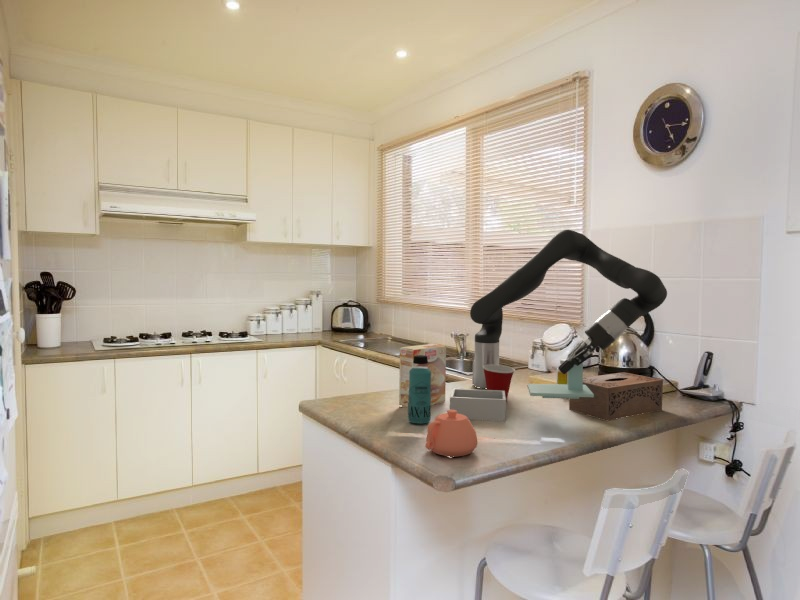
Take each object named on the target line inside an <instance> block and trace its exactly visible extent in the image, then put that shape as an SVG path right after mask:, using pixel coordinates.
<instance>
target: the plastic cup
mask: <svg viewBox="0 0 800 600" xmlns="http://www.w3.org/2000/svg"><path fill="white" fill-rule="evenodd" d="M483 369H484V373H485V380H486V387H487V389H486V390H499V391H505V397H506V402H507V401H508V398H509V397H508V396H509V391H510V387H511V382H512V379H513V375H514V374H515V372H516V369H515V368H513V367H511V366H507V365H502V364H499V365H493V364H490V365H483Z"/></svg>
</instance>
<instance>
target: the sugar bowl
mask: <svg viewBox="0 0 800 600" xmlns="http://www.w3.org/2000/svg"><path fill="white" fill-rule="evenodd" d="M426 432H427V434H426V439H425V440H426V441H425V448H426V449H427V450H430V451H432V452H433V453H434V454H437V455H440V456H444V457H447V456H450V457H453V456H455V457H462V456H467V455H469V454H471V453H472V452H473V451H475V449H476V448H477V446H478V436H477V432H476V429H475V428H474V426H473V424H472V422H471V420H469V419H468V418H467V417H466V416H465V415H462V414H458V413H457V411H456V410H450V409H447V411H446V412H444V413H440V414H437V416H436V417H434V420H432V421H431V422H429V424H428V425H427V431H426Z"/></svg>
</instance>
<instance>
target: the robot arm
mask: <svg viewBox="0 0 800 600" xmlns="http://www.w3.org/2000/svg"><path fill="white" fill-rule="evenodd" d="M563 259H564V260H569V261H573V262H574V261H576V262H578V263H582V264H584V265H588V266H589V267H591V268H593V269H595V270H596V271H597V272H598V273H599V274H600V275H601V276H602V277H604V278H605V279H607V280H608V281H610V282H611V283H613V284H615V285H616V286H618V287H620V288H623V289H628V290H629V289H630V290H632V291H634V292H635V293H636V294H637V295H636V296H635V297H633V298H631V299H629V298H626V297H624V298H622V299H620V300H619V301H617V302H616V303H615V304H614V305H613V306H612V307H611V308H610V309H608V311H606V312H605V313H603V314H602V315H601V316H600V317H598V319H596V321H595V320H594V322H593V323H592V324H591V325H590V326H589V327H587V329H585V331H584V334H585V335H586V336H587V339H585V340H581V341H580V342H579V343H577V344H576V346H574V348H572V350H571V351H570V352H569V353H568V354H567V358H569V361H567V360H565V361H564V362H563V363H562V364H560V365H559V366H558V367H557V368H558V369H559V370H560V371H561V372H562V373H563V374H566V373H567V372H568V371H569V370H570V369H571V368H573V367H574V366H579V365H580V364H581V363H585V362H586V361H587V360H588V359H590V358H591V357H593V355H594V353H595V350H596V349H597V348H599V349H600V350H602V351H605V350H606V349H607V348H609V347H610V346H611V345H612V344H614V342H616V340H618V339H619V338H620V337H621V336H622V335H623V334H624V333H625V332H626V330H627V329H629V327H631V326H632V325H633V324H634V323H635V322H637V320H638V319H640V318H641V317H643V316H645V315H647V314H648V313H650V312H652V311H654V310H655V309H657V308H659V307H660V306H661V305H662V304H663V303H664V302H665V300H666V299H667V296H668V290H667V288H666V285H664V282H663V281H662V279H661V278H660V277H659V276H658V275H657V274H656V273H654V272H652V271H650V270H647V269H644V268H641V267H637V266H635V265H633V264H630V263H629V262H627V261H625V260H623V259H621V258H620V257H617V256H615V255H613V254H611V253H609V252H607V251H605V250H603V249H602V248H601V247H599V246H598V245H597V244H595V243H594V242H593V241H592V240H590V238H588V237H587V236H586V235H584V234H583V233H580V232H577V231H575V230H572V229H564V230H560V231H558V232H557V233H556V234H555V235H554V236H553V237H552V238H551V239H550V240H549V241H548V242H547V243H546V244H545V245H544V246H543V247H542V248H541V249H540V250H539V251H537V253H536V254H535V255H533V256H532V257H531V258H529V260H528V261H526V263H524V264H522V266H519V268H517V270H515V271H514V272H513V273H512V274H510V275H509V276H508V277H507V278H506V279H504V280H503V281H502V282H501V283H500V284H498V286H496V287H495V288H494V289H493V290H491V291H490V292H489V293H487V294H486V295H484V296H482V297H480V298H479V299H477V300H476V301H475V302H474V303H473V304H472V305H471V308H470V311H469V312H470V313H469V315H470V319H471V320H472V322H474V323H476V324H478V325H481V328H480V329H479V331H478V332H476V333H475V335H474V359H473V360H472V384H474V385H473V386H476V387H480V388H479V389H481V388H487V387H486V380H485V373H484V369H483V365H490V364H493V365H500V338H501V335H502V331H503V318H504V317H503V316H504V315H503V314H504V311H503V308H504V307H506V306H508V305H510V304H512V303H515V302H517V301H519V300H521V299H523V298H525V297H527V296H529V295H530V294H531V293H532V292H533V291H536V290H537V289H538V288H539V287H540V286H541V285H542V283H543V281H544V279H545V276H546V274H547V272H548V271H549V269H550V268H551V267H552V266H554V265H555V264H556V263H558V262H560V261H561V260H563ZM567 358H566V359H567ZM576 358H578V359H579V360H577V359H576ZM476 387H475V388H476Z"/></svg>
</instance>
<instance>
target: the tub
mask: <svg viewBox="0 0 800 600" xmlns="http://www.w3.org/2000/svg"><path fill="white" fill-rule="evenodd" d="M506 408H507V401H506V397H505V391H499V390H487V389H472V388H471V389H469V388H452V390H451V393H450V395H449V410H456V411H457V413H458V414H462V415H465V416H466V417H467V418H468V419H469V421H489V422H491V421H492V422H506V415H507V414H506V413H507V411H506V410H507V409H506Z"/></svg>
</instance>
